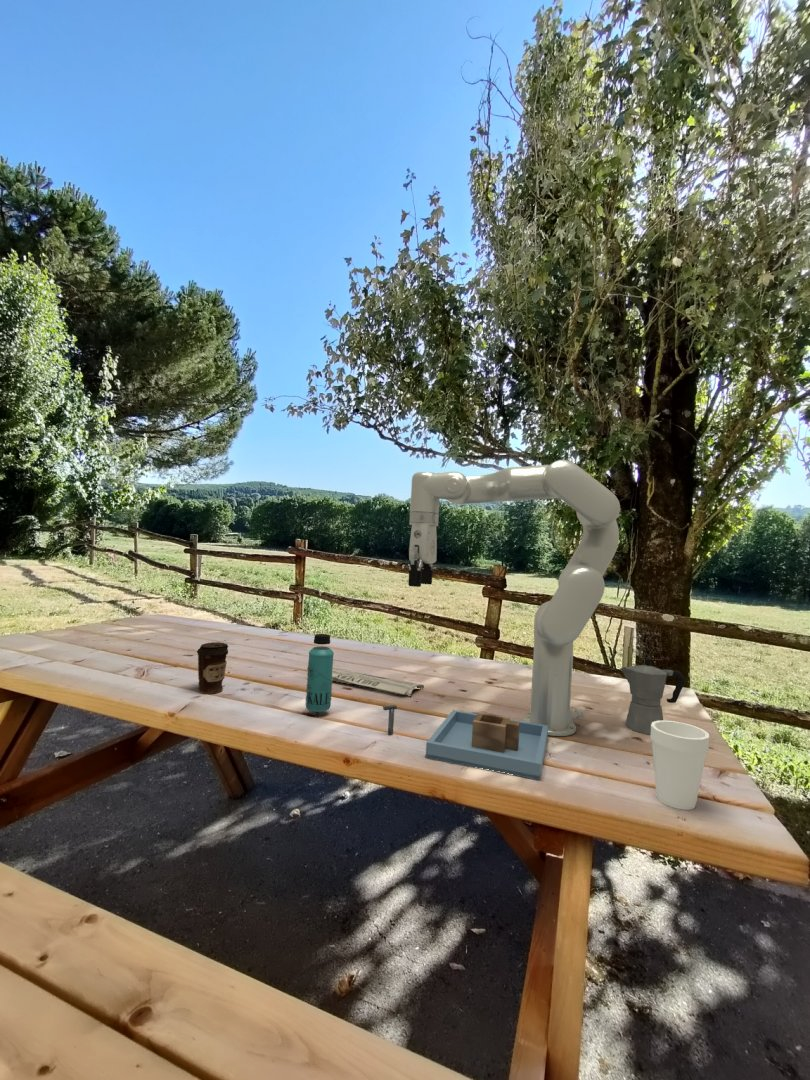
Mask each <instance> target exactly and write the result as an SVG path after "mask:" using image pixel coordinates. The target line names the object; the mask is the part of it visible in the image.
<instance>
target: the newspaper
mask: <svg viewBox="0 0 810 1080" xmlns="http://www.w3.org/2000/svg"><path fill="white" fill-rule="evenodd" d="M333 681H336V682H335V683H338V682H341V683H340V684H343V683H346V684H345V685H349V684H350V685H349V686H354V685H355V687H359V686H360V687H359V688H364V687H365V688H364V689H369V688H370V690H374V689H375V690H374V691H379V690H381V691H380V692H384V691H385V692H384V693H389V692H391V693H390V694H395V693H397V694H396V695H400V694H403V695H402V696H405V695H408V696H407V697H410V696H411V697H412V693H413V690H415V689H414V688H415V687H417V688H420V689H419V690H422V689H421V688H424V689H425V685H424V684H423V683H422V684H421V683H415V682H410V681H404V680H398V679H392V678H387V677H382V676H375V675H372V674H371V675H370V674H366V673H361V672H354V671H350V670H345V669H339V668H334V667H333V669H332V682H333Z"/></svg>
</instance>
